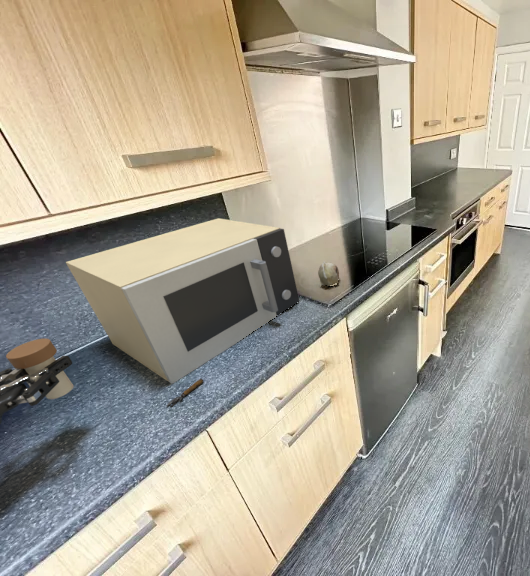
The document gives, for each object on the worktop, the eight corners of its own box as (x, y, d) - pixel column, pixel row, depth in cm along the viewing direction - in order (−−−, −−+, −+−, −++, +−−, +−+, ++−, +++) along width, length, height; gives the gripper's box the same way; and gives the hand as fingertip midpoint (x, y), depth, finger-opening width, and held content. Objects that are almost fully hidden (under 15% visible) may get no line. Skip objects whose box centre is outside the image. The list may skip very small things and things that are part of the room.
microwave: (301, 303, 110) (285, 228, 98) (173, 385, 78) (125, 289, 66) (238, 283, 128) (218, 218, 115) (112, 344, 96) (65, 262, 83)
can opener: (201, 380, 79) (200, 377, 78) (207, 384, 78) (205, 380, 77) (164, 406, 72) (162, 403, 71) (169, 410, 71) (167, 406, 70)
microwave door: (287, 321, 101) (268, 241, 88) (182, 391, 76) (135, 294, 63) (273, 316, 104) (253, 238, 91) (168, 381, 79) (120, 287, 67)
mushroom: (32, 405, 60) (-4, 361, 55) (54, 383, 65) (23, 340, 60) (66, 400, 61) (34, 355, 55) (86, 378, 66) (57, 336, 60)
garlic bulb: (328, 295, 120) (319, 276, 113) (317, 284, 125) (308, 266, 118) (348, 281, 123) (340, 262, 116) (336, 271, 128) (328, 253, 121)
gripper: (-38, 421, 45) (80, 344, 60) (-115, 414, 47) (18, 341, 62) (-4, 454, 48) (99, 374, 63) (-78, 446, 50) (39, 371, 65)
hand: (58, 358), depth 62 cm, fingers closed on mushroom, 4 cm apart
